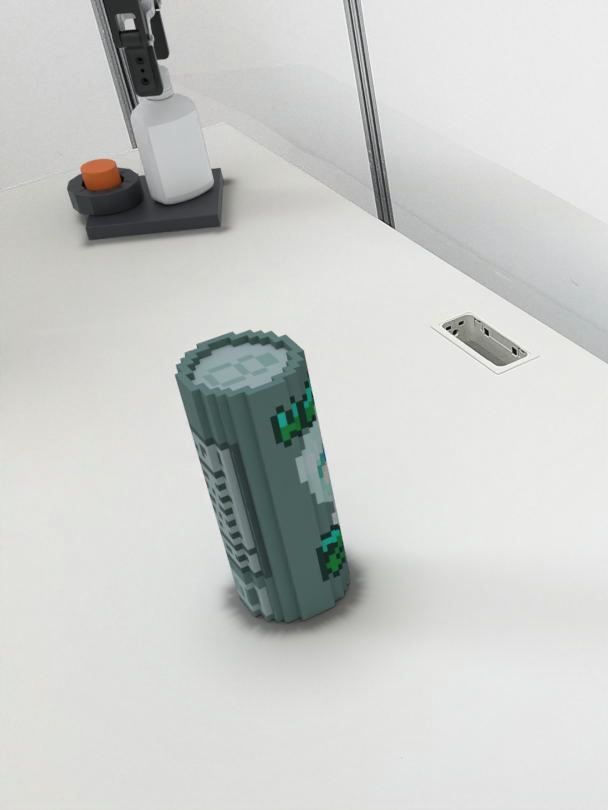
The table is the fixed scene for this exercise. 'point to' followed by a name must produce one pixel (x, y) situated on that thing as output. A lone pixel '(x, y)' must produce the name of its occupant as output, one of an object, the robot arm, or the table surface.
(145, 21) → the robot arm
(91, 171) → the button
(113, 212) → the dark grey base plate
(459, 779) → the table surface
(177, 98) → the eye dropper bottle
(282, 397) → the can
